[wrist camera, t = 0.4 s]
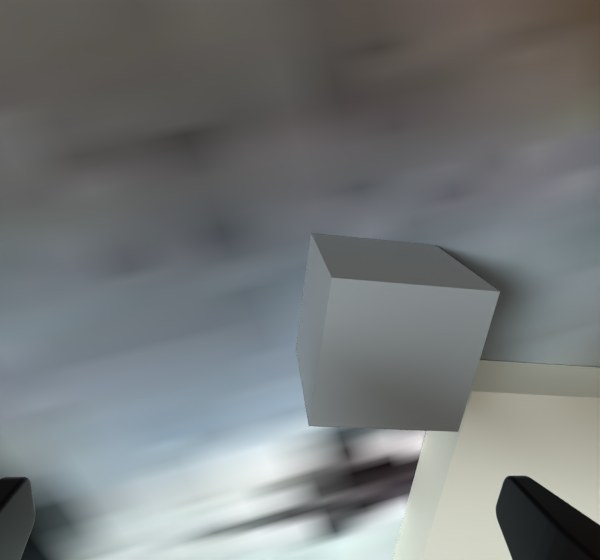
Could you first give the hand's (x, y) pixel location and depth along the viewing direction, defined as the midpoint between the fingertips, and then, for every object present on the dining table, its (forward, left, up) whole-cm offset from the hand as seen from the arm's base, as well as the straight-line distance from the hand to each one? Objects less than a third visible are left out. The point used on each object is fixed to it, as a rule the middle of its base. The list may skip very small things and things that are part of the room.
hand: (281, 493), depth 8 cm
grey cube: (-1, -5, -13) cm, 14 cm away
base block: (-12, -17, -13) cm, 24 cm away
